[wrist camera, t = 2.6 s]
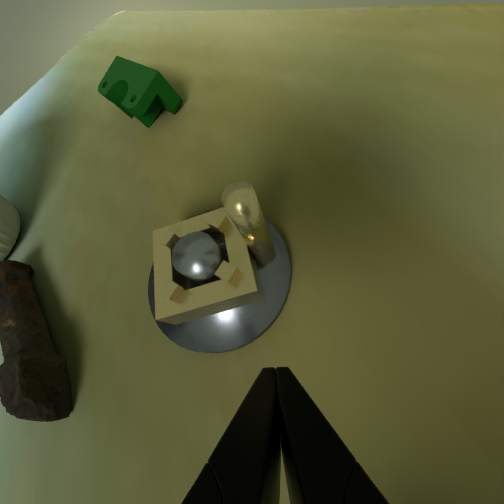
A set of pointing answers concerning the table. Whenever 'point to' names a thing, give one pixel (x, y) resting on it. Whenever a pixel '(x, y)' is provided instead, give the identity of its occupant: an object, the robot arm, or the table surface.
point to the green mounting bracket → (138, 90)
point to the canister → (8, 227)
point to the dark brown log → (29, 352)
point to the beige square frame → (231, 274)
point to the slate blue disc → (231, 321)
